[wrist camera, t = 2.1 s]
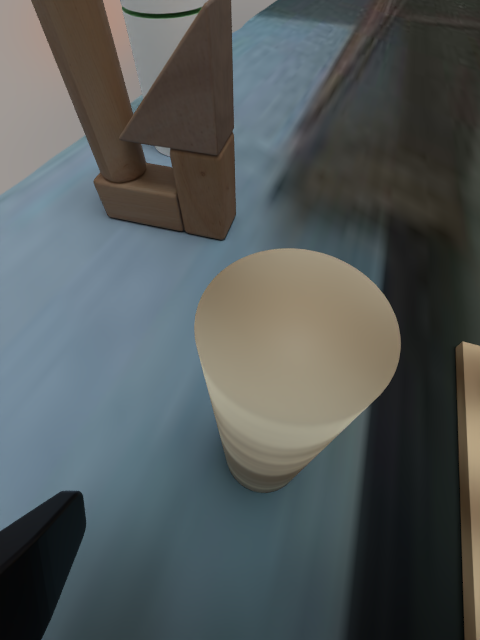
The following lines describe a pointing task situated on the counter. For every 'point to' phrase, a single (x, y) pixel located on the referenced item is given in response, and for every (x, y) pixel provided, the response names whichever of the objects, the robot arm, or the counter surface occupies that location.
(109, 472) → the counter surface
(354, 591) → the counter surface
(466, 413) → the rail base
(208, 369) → the birch dowel
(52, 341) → the counter surface
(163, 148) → the cylindrical container
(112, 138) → the wooden block
